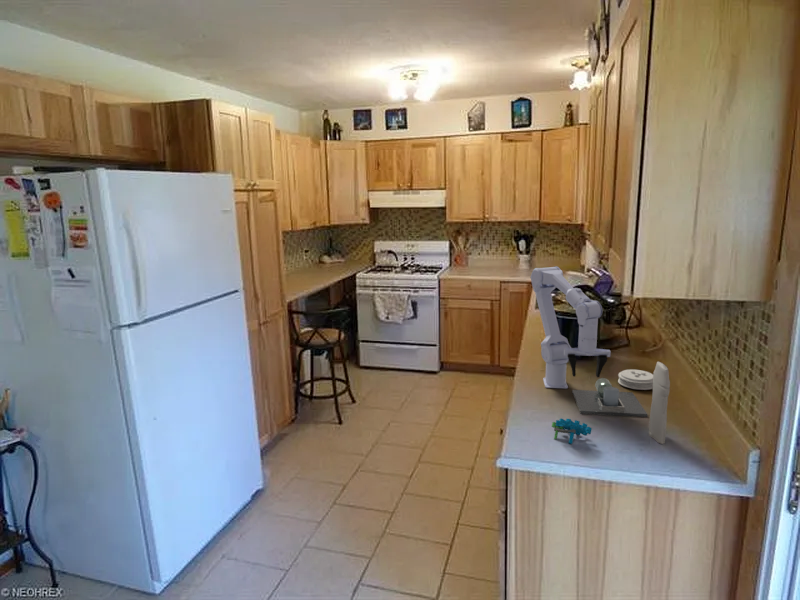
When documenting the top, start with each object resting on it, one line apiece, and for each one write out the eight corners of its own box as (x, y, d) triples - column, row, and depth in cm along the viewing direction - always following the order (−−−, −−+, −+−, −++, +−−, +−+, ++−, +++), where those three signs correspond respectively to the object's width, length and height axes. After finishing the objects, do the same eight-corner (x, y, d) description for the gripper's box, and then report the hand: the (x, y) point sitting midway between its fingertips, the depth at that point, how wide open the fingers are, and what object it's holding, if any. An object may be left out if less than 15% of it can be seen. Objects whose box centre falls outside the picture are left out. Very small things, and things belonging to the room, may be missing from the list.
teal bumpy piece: (596, 433, 144) (586, 418, 138) (593, 452, 141) (582, 438, 135) (559, 428, 151) (547, 414, 145) (555, 446, 148) (543, 433, 142)
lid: (621, 377, 192) (622, 364, 191) (658, 383, 185) (659, 370, 184) (614, 387, 182) (615, 374, 181) (652, 394, 175) (654, 381, 174)
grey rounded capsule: (601, 403, 165) (602, 386, 164) (615, 404, 165) (616, 386, 164) (605, 409, 161) (606, 391, 160) (619, 409, 160) (620, 392, 159)
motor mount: (572, 392, 178) (572, 376, 177) (632, 395, 174) (633, 378, 173) (580, 413, 161) (581, 396, 159) (647, 417, 157) (648, 399, 156)
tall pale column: (670, 445, 139) (677, 370, 135) (655, 444, 140) (661, 370, 135) (658, 428, 149) (664, 358, 145) (643, 427, 150) (648, 357, 146)
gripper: (566, 340, 164) (564, 379, 166) (613, 341, 161) (611, 381, 164) (563, 334, 170) (562, 372, 173) (608, 335, 168) (606, 373, 170)
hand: (585, 375), depth 169 cm, fingers open, 7 cm apart
